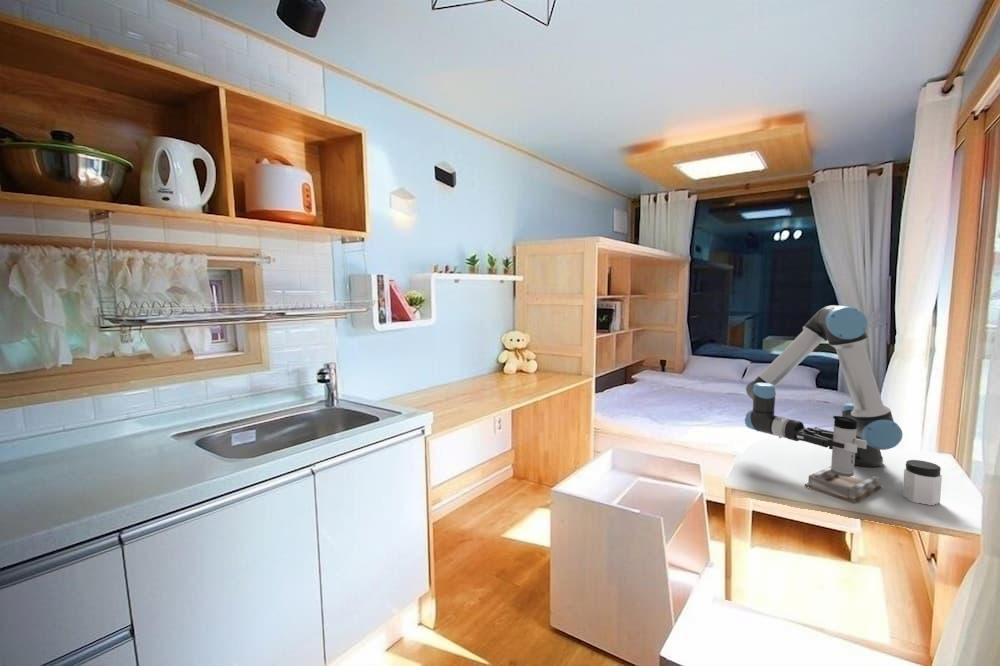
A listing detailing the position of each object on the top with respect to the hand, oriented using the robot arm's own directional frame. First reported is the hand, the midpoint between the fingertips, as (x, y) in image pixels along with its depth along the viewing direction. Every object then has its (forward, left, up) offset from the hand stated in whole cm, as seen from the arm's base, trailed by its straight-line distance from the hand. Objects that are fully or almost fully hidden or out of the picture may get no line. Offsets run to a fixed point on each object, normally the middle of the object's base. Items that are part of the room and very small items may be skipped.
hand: (861, 446), depth 150 cm
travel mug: (+3, -4, -11) cm, 12 cm away
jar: (-16, +6, -16) cm, 24 cm away
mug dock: (+2, -4, -16) cm, 17 cm away
